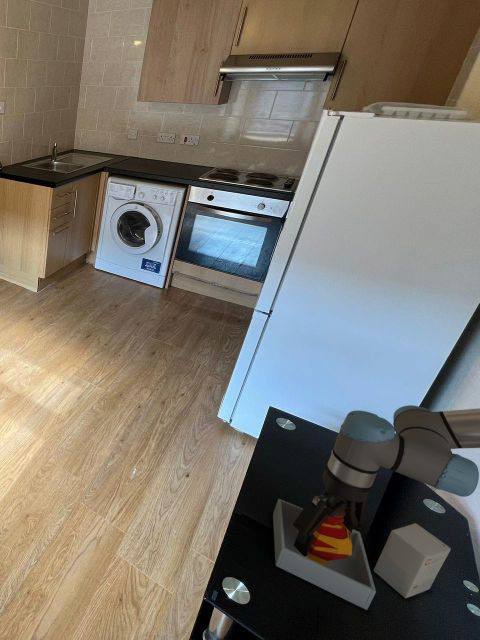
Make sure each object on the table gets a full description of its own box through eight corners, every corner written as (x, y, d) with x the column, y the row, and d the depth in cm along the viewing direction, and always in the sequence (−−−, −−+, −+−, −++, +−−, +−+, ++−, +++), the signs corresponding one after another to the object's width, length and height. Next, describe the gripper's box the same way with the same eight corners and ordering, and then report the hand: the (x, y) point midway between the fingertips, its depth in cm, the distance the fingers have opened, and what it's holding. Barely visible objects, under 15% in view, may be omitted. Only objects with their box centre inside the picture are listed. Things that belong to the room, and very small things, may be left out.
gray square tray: (352, 549, 100) (360, 532, 98) (367, 610, 87) (376, 592, 86) (272, 514, 109) (278, 498, 107) (275, 565, 96) (281, 548, 94)
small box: (396, 562, 97) (415, 522, 93) (430, 590, 92) (452, 548, 88) (371, 570, 96) (390, 529, 91) (405, 599, 90) (427, 557, 86)
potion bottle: (302, 570, 94) (321, 523, 90) (281, 529, 104) (297, 485, 99) (355, 582, 92) (377, 534, 87) (328, 539, 102) (346, 494, 97)
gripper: (370, 455, 96) (341, 524, 103) (290, 468, 91) (265, 539, 98) (408, 482, 89) (374, 554, 96) (323, 497, 84) (294, 571, 91)
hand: (319, 546), depth 97 cm, fingers open, 10 cm apart
